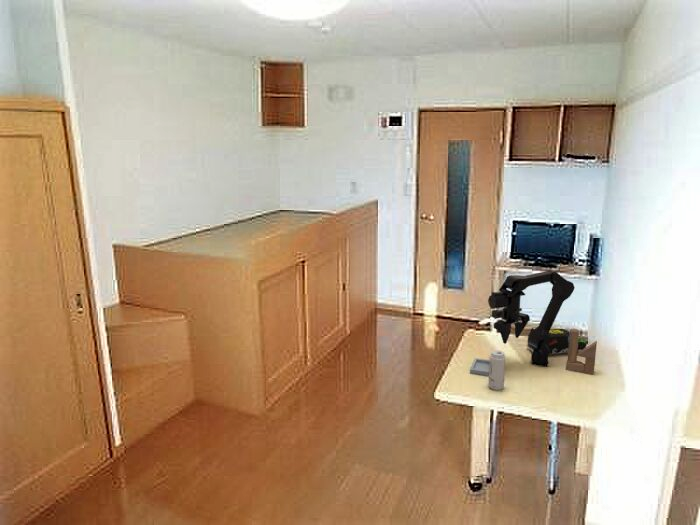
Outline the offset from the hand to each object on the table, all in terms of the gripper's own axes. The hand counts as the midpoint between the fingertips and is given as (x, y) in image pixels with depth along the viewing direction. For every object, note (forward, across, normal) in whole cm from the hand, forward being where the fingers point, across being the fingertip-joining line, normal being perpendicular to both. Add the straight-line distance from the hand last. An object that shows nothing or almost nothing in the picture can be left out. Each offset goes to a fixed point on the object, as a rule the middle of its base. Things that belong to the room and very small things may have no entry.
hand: (510, 340), depth 220 cm
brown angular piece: (+13, -20, +22) cm, 32 cm away
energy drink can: (+13, +19, +6) cm, 24 cm away
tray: (+13, +8, -6) cm, 16 cm away
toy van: (+13, -32, +4) cm, 35 cm away
